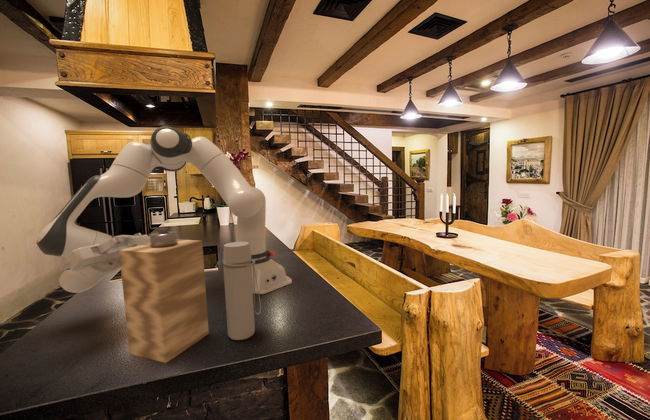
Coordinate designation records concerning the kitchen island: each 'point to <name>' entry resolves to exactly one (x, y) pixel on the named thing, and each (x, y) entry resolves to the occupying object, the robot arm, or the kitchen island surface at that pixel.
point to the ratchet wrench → (152, 239)
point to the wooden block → (164, 298)
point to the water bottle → (239, 290)
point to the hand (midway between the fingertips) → (128, 237)
